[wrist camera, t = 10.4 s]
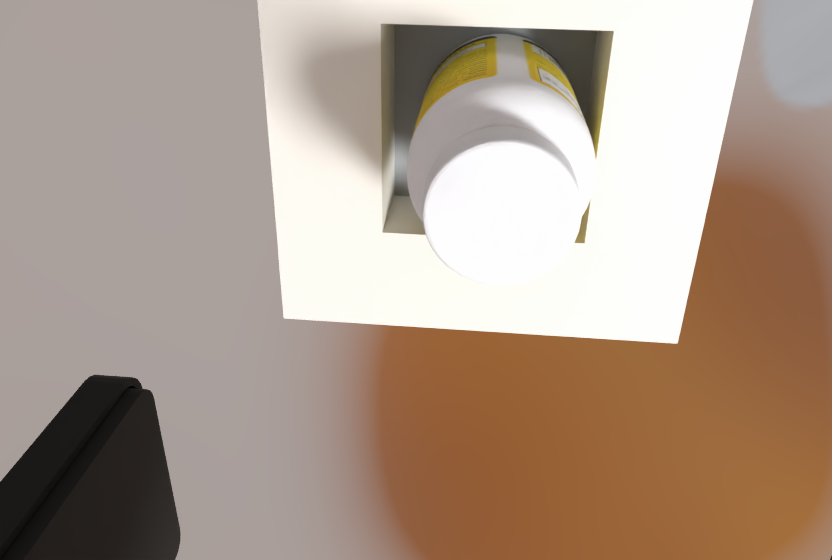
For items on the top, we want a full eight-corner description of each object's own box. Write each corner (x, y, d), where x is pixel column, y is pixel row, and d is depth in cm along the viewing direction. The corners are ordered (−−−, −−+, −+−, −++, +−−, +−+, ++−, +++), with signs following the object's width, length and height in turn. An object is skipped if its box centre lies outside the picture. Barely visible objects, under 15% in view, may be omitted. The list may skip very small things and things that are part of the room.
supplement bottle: (414, 166, 28) (379, 290, 19) (436, 19, 25) (406, 89, 17) (554, 189, 28) (581, 325, 19) (590, 45, 25) (640, 127, 17)
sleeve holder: (730, -113, 24) (777, -113, 20) (654, 284, 30) (677, 343, 27) (286, -120, 25) (246, -121, 21) (310, 264, 32) (283, 318, 28)
